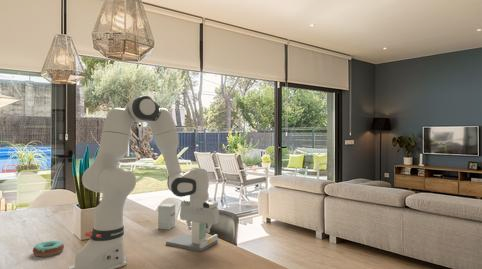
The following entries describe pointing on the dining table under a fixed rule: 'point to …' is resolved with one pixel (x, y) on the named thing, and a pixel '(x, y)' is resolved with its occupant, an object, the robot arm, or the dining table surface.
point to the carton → (198, 232)
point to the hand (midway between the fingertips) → (199, 231)
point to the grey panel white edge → (186, 242)
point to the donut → (48, 248)
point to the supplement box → (166, 216)
